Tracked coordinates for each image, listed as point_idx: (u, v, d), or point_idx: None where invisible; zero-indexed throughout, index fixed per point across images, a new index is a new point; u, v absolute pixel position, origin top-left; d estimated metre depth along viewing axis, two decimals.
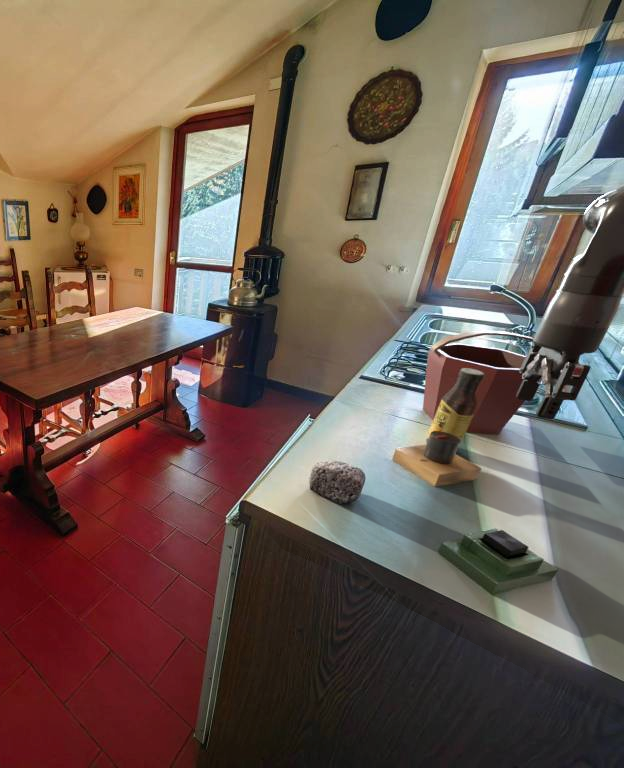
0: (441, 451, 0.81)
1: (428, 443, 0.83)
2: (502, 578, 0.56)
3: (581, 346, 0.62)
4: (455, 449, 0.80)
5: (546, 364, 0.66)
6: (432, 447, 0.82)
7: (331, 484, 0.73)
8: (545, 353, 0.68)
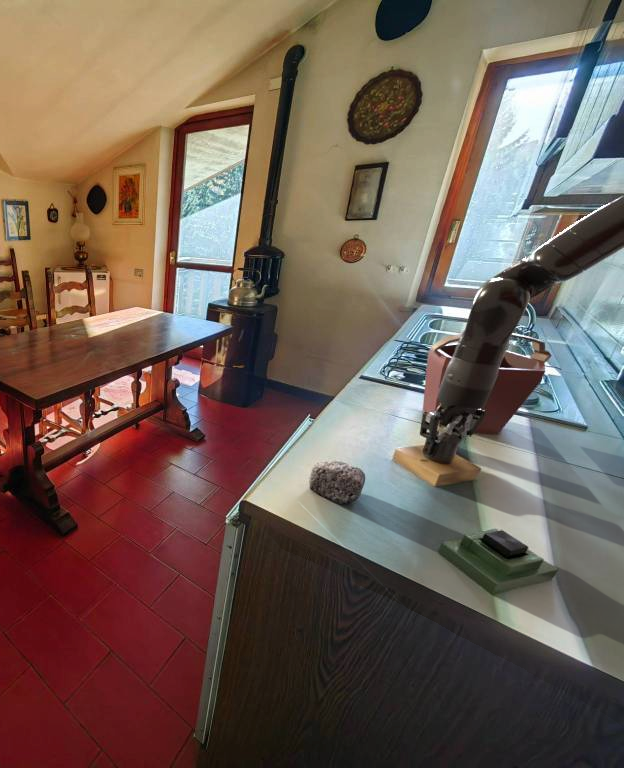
0: (441, 451, 0.81)
1: None
2: (502, 578, 0.56)
3: (449, 398, 0.77)
4: (455, 449, 0.80)
5: None
6: None
7: (331, 484, 0.73)
8: None
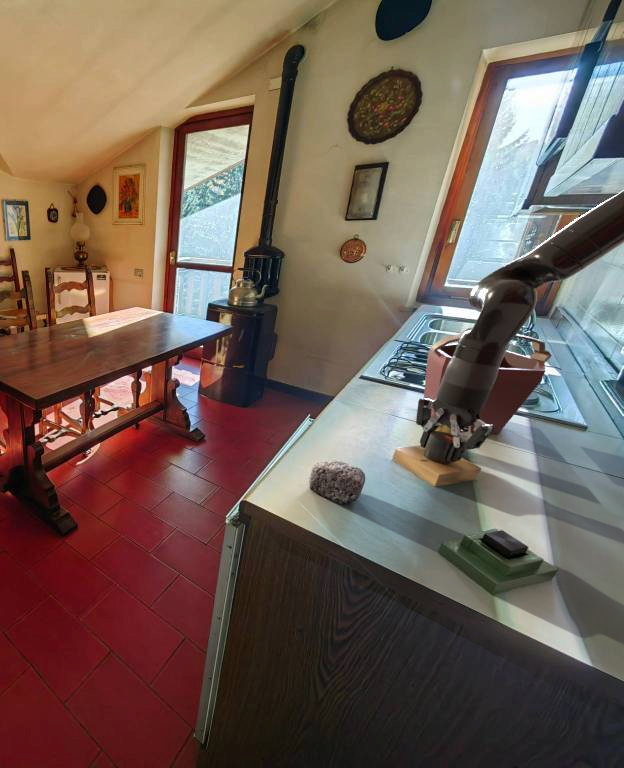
0: None
1: (448, 451, 0.80)
2: (502, 578, 0.56)
3: (482, 404, 0.75)
4: None
5: (456, 420, 0.78)
6: None
7: (331, 484, 0.73)
8: (444, 407, 0.80)
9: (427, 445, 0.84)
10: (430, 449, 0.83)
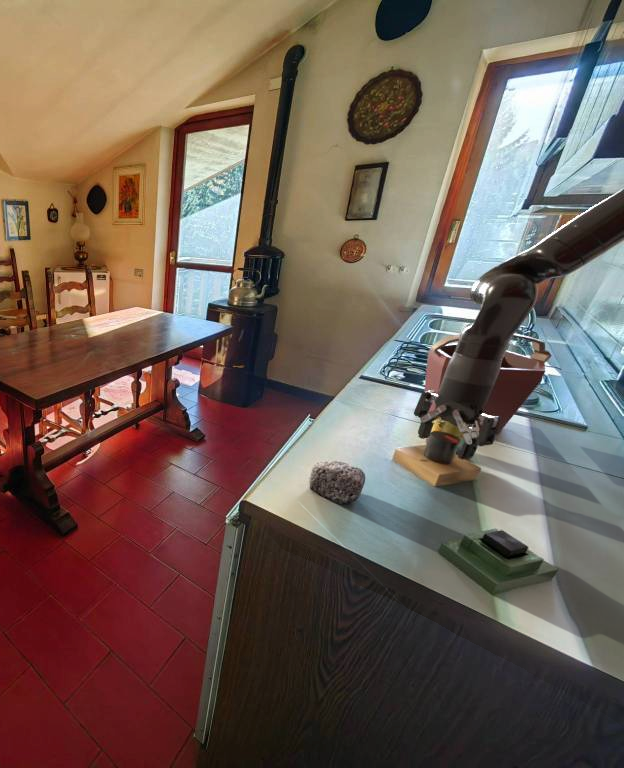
0: None
1: (448, 451, 0.80)
2: (502, 578, 0.56)
3: (485, 399, 0.74)
4: None
5: (460, 416, 0.77)
6: (454, 452, 0.81)
7: (331, 484, 0.73)
8: (447, 403, 0.80)
9: (427, 445, 0.84)
10: (430, 449, 0.83)
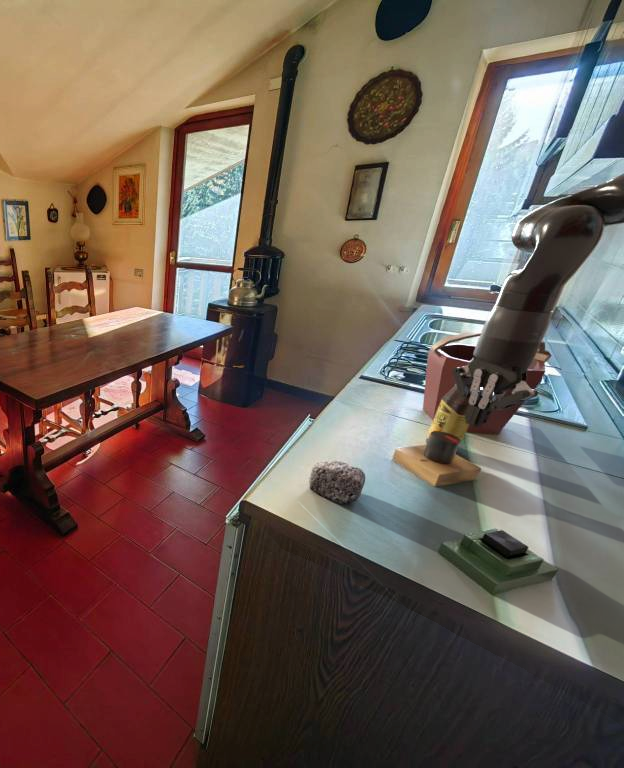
0: None
1: (448, 451, 0.80)
2: (502, 578, 0.56)
3: (530, 360, 0.64)
4: None
5: (495, 382, 0.67)
6: (454, 452, 0.81)
7: (331, 484, 0.73)
8: (483, 367, 0.69)
9: (427, 445, 0.84)
10: (430, 449, 0.83)
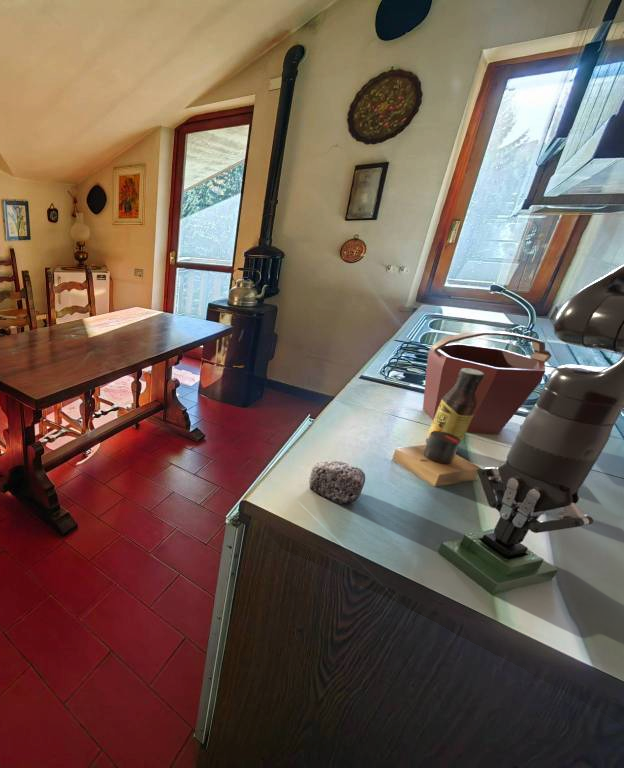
0: None
1: (448, 451, 0.80)
2: (502, 578, 0.56)
3: (583, 479, 0.50)
4: None
5: (537, 500, 0.53)
6: (454, 452, 0.81)
7: (331, 484, 0.73)
8: (519, 476, 0.56)
9: (427, 445, 0.84)
10: (430, 449, 0.83)
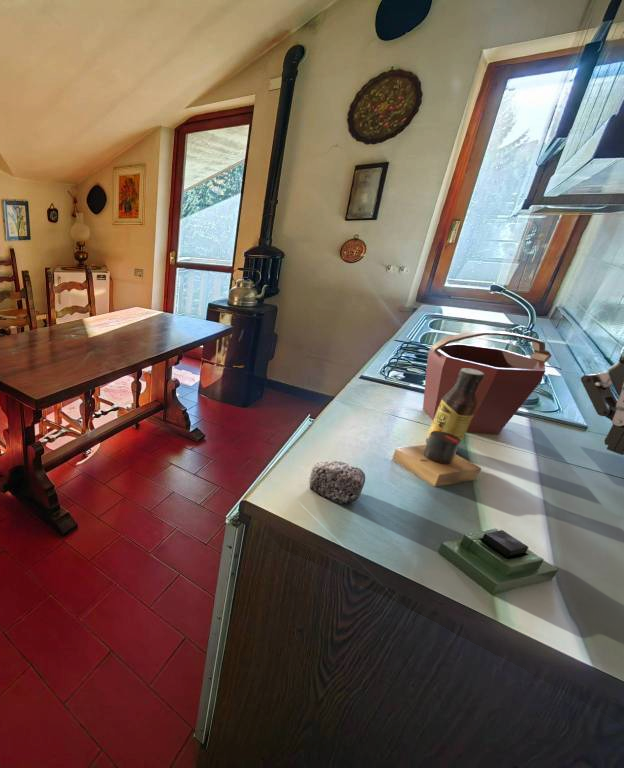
0: None
1: (448, 451, 0.80)
2: (502, 578, 0.56)
3: None
4: None
5: None
6: (454, 452, 0.81)
7: (331, 484, 0.73)
8: None
9: (427, 445, 0.84)
10: (430, 449, 0.83)
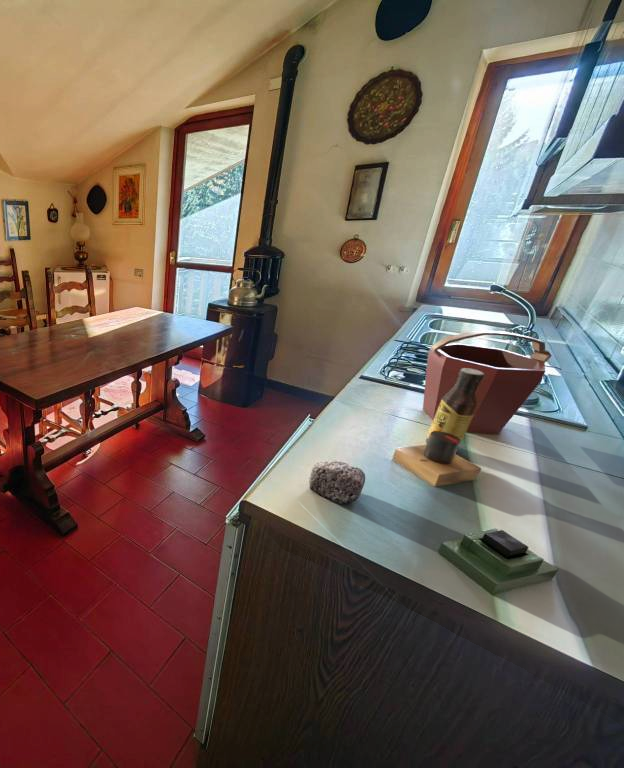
0: None
1: (448, 451, 0.80)
2: (502, 578, 0.56)
3: None
4: None
5: None
6: (454, 452, 0.81)
7: (331, 484, 0.73)
8: None
9: (427, 445, 0.84)
10: (430, 449, 0.83)
